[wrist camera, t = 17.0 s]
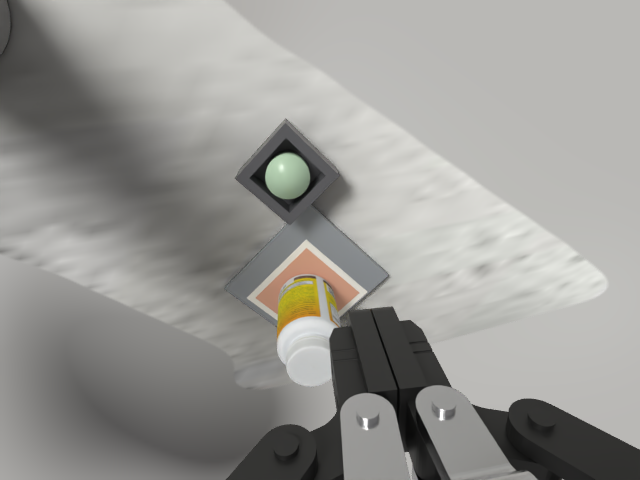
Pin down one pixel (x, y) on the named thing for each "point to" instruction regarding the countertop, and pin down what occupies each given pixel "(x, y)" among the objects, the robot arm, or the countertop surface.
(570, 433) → the robot arm
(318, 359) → the supplement bottle
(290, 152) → the button
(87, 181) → the countertop surface
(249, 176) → the button housing
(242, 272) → the picture board
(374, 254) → the countertop surface
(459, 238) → the countertop surface
